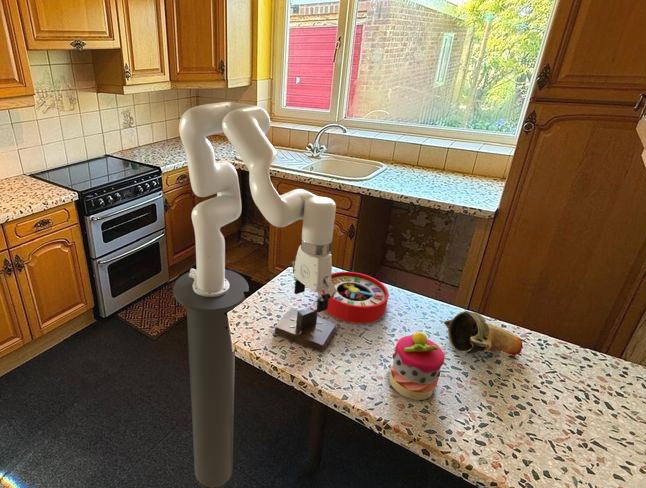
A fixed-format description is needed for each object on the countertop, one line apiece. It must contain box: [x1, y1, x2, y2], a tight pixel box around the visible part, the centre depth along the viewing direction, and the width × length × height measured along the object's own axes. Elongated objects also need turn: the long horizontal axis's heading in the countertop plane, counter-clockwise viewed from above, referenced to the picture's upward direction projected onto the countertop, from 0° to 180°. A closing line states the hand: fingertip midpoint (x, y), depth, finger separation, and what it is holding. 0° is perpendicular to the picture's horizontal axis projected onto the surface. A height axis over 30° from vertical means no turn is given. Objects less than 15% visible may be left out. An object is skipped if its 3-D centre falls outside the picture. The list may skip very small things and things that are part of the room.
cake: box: [388, 331, 446, 401], centre depth 93 cm, size 10×11×15 cm
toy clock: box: [321, 271, 390, 325], centre depth 125 cm, size 20×6×20 cm
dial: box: [296, 305, 319, 330], centre depth 112 cm, size 5×2×5 cm, turn 117°
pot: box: [443, 310, 524, 357], centre depth 106 cm, size 17×11×18 cm
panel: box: [274, 307, 338, 353], centre depth 113 cm, size 14×11×3 cm
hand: (310, 301), depth 109 cm, fingers open, 9 cm apart
